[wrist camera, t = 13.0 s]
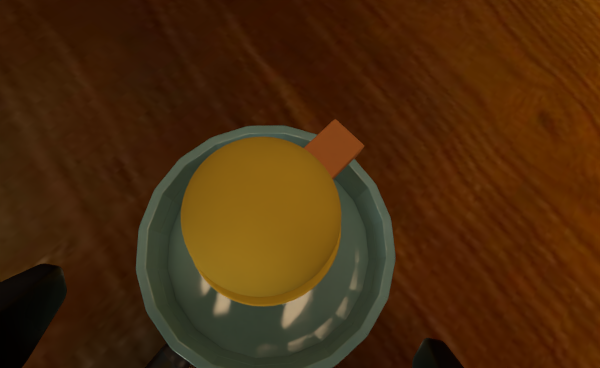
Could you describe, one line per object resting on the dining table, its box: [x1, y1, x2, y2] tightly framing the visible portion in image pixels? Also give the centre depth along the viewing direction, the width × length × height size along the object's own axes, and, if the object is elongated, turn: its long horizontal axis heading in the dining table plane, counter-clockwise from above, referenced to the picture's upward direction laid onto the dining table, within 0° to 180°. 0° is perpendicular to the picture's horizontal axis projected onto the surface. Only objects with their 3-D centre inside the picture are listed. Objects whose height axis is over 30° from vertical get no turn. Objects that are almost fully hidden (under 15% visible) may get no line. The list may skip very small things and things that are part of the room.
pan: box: [136, 126, 395, 368], centre depth 19 cm, size 13×13×4 cm
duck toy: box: [181, 119, 364, 307], centre depth 14 cm, size 6×6×14 cm
